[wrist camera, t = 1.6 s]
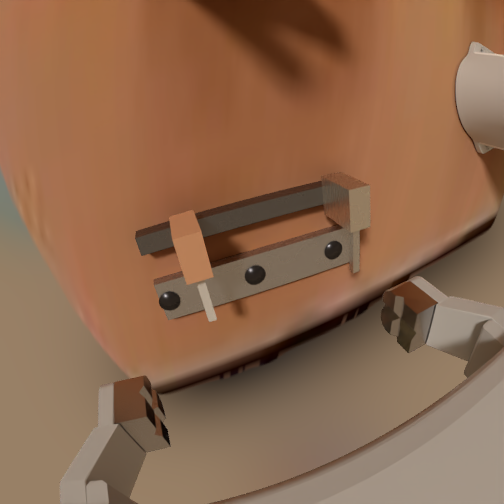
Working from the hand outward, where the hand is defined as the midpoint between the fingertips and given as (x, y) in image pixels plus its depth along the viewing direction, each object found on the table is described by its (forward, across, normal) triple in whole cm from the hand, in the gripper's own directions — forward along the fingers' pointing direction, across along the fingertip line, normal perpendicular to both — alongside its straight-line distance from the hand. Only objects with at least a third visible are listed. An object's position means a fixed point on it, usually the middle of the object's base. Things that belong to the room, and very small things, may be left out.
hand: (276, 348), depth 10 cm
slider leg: (+22, +1, +8) cm, 23 cm away
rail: (+24, -6, +7) cm, 26 cm away
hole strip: (+24, -6, +12) cm, 28 cm away
